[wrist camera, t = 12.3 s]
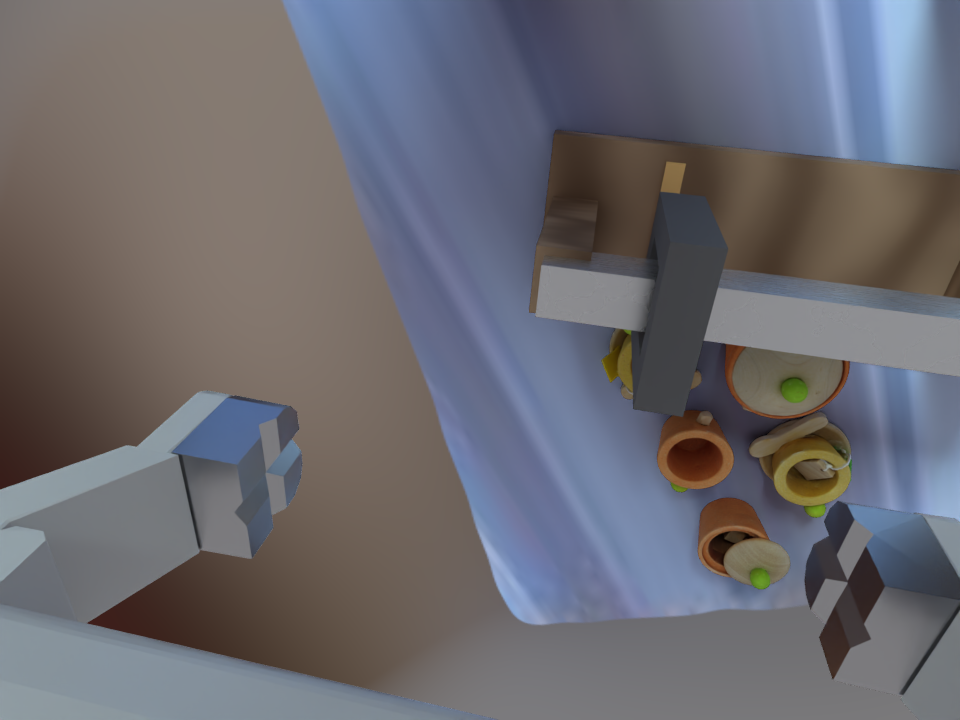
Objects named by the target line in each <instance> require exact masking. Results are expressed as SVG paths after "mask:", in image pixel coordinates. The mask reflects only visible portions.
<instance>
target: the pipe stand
mask: <svg viewBox="0 0 960 720" xmlns="http://www.w3.org/2000/svg"><path fill="white" fill-rule="evenodd" d="M660 192H669V193H678V194H687V195H696V196H705V197H706V199H707V202H708V204H709V206H710V208H711V211H712V213H713V215H714V217H715V220H716V222H717V224H718V226H719V229H720V231H721V233H722V235H723V238H724V240H725V242H726V244H727V247H728V253H727V256H726V260H725V264H724V267H723V271H722V275H721V278H720V282H719V286H718V289H717V293H716V297H715V300H714V304H713V308H712V312H711V315H710V319H709V323H708V326H707V330H706V334H705V337H704V341H711V342H718V343H725V344H732V345H739V346H746V347H753V348H760V349H767V350H774V351H781V352H788V353H795V354H803V355H810V356H817V357H824V358H831V359H838V360H845V361H852V362H859V363H866V364H873V365H880V366H887V367H894V368H902V369H909V370H916V371H923V372H930V373H937V374H944V375H951V376H958V377H960V170H950V169H940V168H930V167H921V166H911V165H901V164H891V163H881V162H871V161H861V160H851V159H841V158H831V157H821V156H811V155H801V154H791V153H781V152H771V151H761V150H751V149H741V148H731V147H721V146H711V145H701V144H691V143H681V142H671V141H661V140H651V139H641V138H631V137H622V136H612V135H602V134H592V133H582V132H572V131H562V130H556V131H555V133H554V138H553V147H552V155H551V164H550V172H549V181H548V190H547V198H546V207H545V216H544V224H543V228H542V231H541V234H540V237H539V239H538V242H537V245H536V253H535V262H534V271H533V280H532V289H531V298H530V306H529V312H530V313H536V316H535V317H541V318H548V319H555V320H562V321H569V322H576V323H583V324H590V325H598V326H605V327H612V328H619V329H626V330H633V331H640V332H645V330H646V326H647V321H648V316H649V312H650V307H651V303H652V298H653V293H654V289H655V284H656V280H657V275H658V270H659V265H658V260H652V259H646V257H647V252H648V247H649V242H650V237H651V233H652V228H653V223H654V218H655V213H656V208H657V203H658V198H659V194H660Z"/></svg>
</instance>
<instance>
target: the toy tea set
mask: <svg viewBox="0 0 960 720" xmlns="http://www.w3.org/2000/svg"><path fill="white" fill-rule="evenodd" d="M609 352H610V354H609V355H607V356H606V357H605V358H603V359H602V360H601V361H602V364H603V366H604V369H605V371H606V373H607V376H608V378H609V381H610V382H612V381H613V380H614V379H615V378H616V377H620V379H621V381H622V382H623V383H624V384H623V385H622V386H621V394H622V396H623V397H624V398H626V399H633V382H632V347H631V330H626V329H619V328H616V329H615V330H614V332H613V334H612V337H611V340H610V346H609ZM849 367H850V361H845V360H838V359H831V358H824V357H817V356H810V355H803V354H795V353H788V352H781V351H774V350H767V349H760V348H753V347H746V346H739V345H732V344H726V358H725V377H726V382H727V385H728V388H729V390H730V392H731V394H732V395H733V397H734V398H735V399H736V400H737V401H738V402H739V403H740V404H741V405H742V408H743V409H744V410H747V411H750V412H753V413H755V414H758V415H761V416H765V417H769V418H776V419H786V418H796V417H800V416H804V415H807V414H810V413H813V412H815V411H817V410H819V409H820V408H822V407H823V406H825V405H826V404H828V403H829V402H830V401H832V400H833V399H834V398H835V397H836V396H837V395H838V393H839V392H840V391H841V389H842V388H843V386H844V384H845V382H846V380H847V377H848V374H849ZM701 381H702V376H701V373H700V372H699V371H698V370H695V374H694V378H693V382H692V385H691V389H693V388H695V387H697V386H698V385H699V384H700V383H701ZM749 453H750V454H751V455H752V456H753V457H756V458H757V457H759V461H760V465H761V467H762V469H763V471H764V472H765V474H766V475H767V476H768V477H769V478H771V479H772V480H773V481H774V485H775V488H776V490H777V492H778V493H779V494H780V495H781V496H782V497H783V498H784V499H786V500H787V501H789V502H792V503H795V504H798V505H803V506H804V509H805V512H806V513H807V514H808V515H809V516H811V517H815V518H817V517H821V516H823V515H824V513H825V510H826V507H825V503H828V502H831V501H833V500H835V499H836V498H838V497H839V496H840V495H841V494H842V493H843V492H844V491H845V490H846V489H847V487H848V485H849V483H850V481H851V466H852V460H851V447H850V443H849V441H848V439H847V437H846V436H845V434H844V433H843V432H842V431H841V430H840V429H839V428H838V427H836V426H835V425H833V424H831V423H829V422H828V420H827V418H826V416H825V414H824V413H821V412H816V413H813V414H810V415H808V416H806V417H804V418H802V419H797V420H792V421H789V422H786V423H783V424H781V425H779V426H777V427H776V428H774V429H773V430H772V431H771V432H769V433H768V434H767V435H766V436H761V437H759V438H757V439H755V440H754V441H753V442H752V443H751V445H750V446H749ZM657 463H658V467H659V469H660V471H661V473H662V474H663V476H664V477H665V478H666V479H667V480H669V481H670V482H671V486H672V488H673V489H674V490H675V491H677V492H685V491H686V490H687V489H688V488H690V489H703V488H708V487H712V486H714V485H716V484H718V483H719V482H721V481H722V480H724V479H725V478H726V477H727V475H728V474H729V473H730V471H731V469H732V467H733V463H734V455H733V451H732V449H731V447H730V445H729V443H728V441H727V439H726V438H725V436H724V434H723V432H722V430H721V428H720V426H719V424H718V423H717V421H716V420H715V419H714V418H713V416H712V414H711V413H710V412H709V411H702V412H701V411H697V410H686V411H684V415H683V417H680V416H674V415H673V416H671V417H670V418H669V419H668V420H667V421H666V422H665V424H664V425H663V428H662V431H661V437H660V443H659V448H658V454H657ZM698 556H699V559H700V560H701V562H702V564H703V565H704V566H705V567H706V568H707V569H709V570H710V571H712V572H713V573H716V574H718V575H721V576H725V577H731V578H734V579H735V580H737V581H739V582H741V583H744V584H747V585H752V586H754V587H755V588H757V589H765V588H767V587H768V586H769V585H770V584H772V583H775V582H777V581H779V580H780V579H782V578H783V577H784V576H785V575H786V574H787V573H788V570H789V568H790V558H789V556H788V553H787V552H786V551H785V550H784V549H783V548H782V547H781V546H780V545H779V544H777V543H775V542H772V541H770V540H769V538H768V536H767V534H766V532H765V530H764V528H763V526H762V524H761V522H760V520H759V518H758V516H757V514H756V512H755V511H754V509H753V508H752V507H751V506H750V505H749V504H748V503H746V502H745V501H742V500H740V499H736V498H721V499H717V500H714V501H712V502H710V503H709V504H707V505H706V506H705V507H704V509H703V510H702V512H701V515H700V526H699V539H698Z"/></svg>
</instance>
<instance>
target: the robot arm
mask: <svg viewBox="0 0 960 720" xmlns="http://www.w3.org/2000/svg"><path fill="white" fill-rule="evenodd" d="M298 430H299V424H298V417H297V412H296V410H294V409H293V408H292V407H291V406H287V405H281V404H276V403H271V402H266V401H261V400H256V399H251V398H246V397H240V396H232V395H229V394H224V393H218V392H213V391H202V392H198V393H197V394H195V395H194V396H193V397H192V398H191V399H190V400H189V401H188V402H187V403H185V404H184V405H183V406H182V407H181V408H180V409H179V410H178V411H177V412H175V413H174V414H173V415H172V416H171V417H170V418H169V419H167V420H166V421H165V422H164V423H163V424H162V425H161V426H160V427H159V428H157V429H156V430H155V431H154V432H153V433H152V434H151V435H150V436H149V437H147V438H146V439H145V440H144V441H143V442H142V443H141V444H140V445H138V446H137V447H133V446H128V445H127V446H124V447H121V448H118V449H116V450H113V451H110V452H107V453H104V454H101V455H99V456H96V457H93V458H90V459H87V460H84V461H82V462H78V463H76V464H73V465H70V466H67V467H64V468H62V469H59V470H56V471H53V472H50V473H47V474H44V475H41V476H39V477H36V478H33V479H30V480H27V481H24V482H22V483H19V484H16V485H13V486H10V487H7V488H4V489H1V490H0V720H497V719H493V718H489V717H485V716H480V715H476V714H472V713H467V712H463V711H459V710H455V709H451V708H446V707H442V706H437V705H433V704H428V703H425V702H421V701H416V700H412V699H408V698H403V697H399V696H395V695H391V694H386V693H382V692H378V691H373V690H369V689H364V688H361V687H356V686H352V685H348V684H343V683H339V682H335V681H330V680H326V679H321V678H318V677H313V676H309V675H305V674H301V673H296V672H292V671H288V670H283V669H279V668H275V667H271V666H266V665H262V664H258V663H253V662H249V661H245V660H240V659H236V658H232V657H228V656H223V655H219V654H215V653H210V652H206V651H202V650H198V649H193V648H189V647H185V646H180V645H176V644H172V643H168V642H163V641H159V640H155V639H150V638H146V637H142V636H138V635H133V634H129V633H124V632H120V631H116V630H112V629H107V628H103V627H99V626H94V625H90V624H86V623H87V622H89V621H91V620H92V619H94V618H95V617H97V616H99V615H100V614H102V613H103V612H105V611H107V610H108V609H110V608H111V607H113V606H115V605H116V604H118V603H119V602H121V601H123V600H124V599H126V598H127V597H129V596H131V595H132V594H134V593H135V592H137V591H139V590H140V589H142V588H143V587H145V586H146V585H148V584H150V583H151V582H153V581H155V580H156V579H158V578H159V577H161V576H163V575H164V574H166V573H167V572H169V571H171V570H172V569H174V568H175V567H177V566H179V565H180V564H182V563H183V562H185V561H186V560H188V559H190V558H191V557H193V556H195V555H196V554H198V553H199V550H204V551H210V552H216V553H222V554H227V555H233V556H239V557H244V558H249V559H252V558H253V557H254V555H255V554H256V552H257V551H258V549H259V548H260V546H261V545H262V544H263V542H264V541H265V539H266V538H267V536H268V535H269V533H270V532H271V530H272V529H273V522H272V515H273V514H275V513H277V512H279V511H281V510H283V509H285V508H287V506H288V505H289V503H290V502H291V500H292V499H293V497H294V496H295V493H296V490H297V487H298V485H299V482H300V479H301V471H302V454H301V450H300V449H299V448H298V447H297V445H296V444H295V443H294V441H293V440H292V438H293V436H294V435H295V434H296V432H297V431H298ZM824 523H825V526H826V529H827V531H828V534H829V536H828V537H826V538H824V539H822V540H821V541H819V542H817V543H815V544H814V545H813V547H812V550H811V552H810V555H809V557H808V560H807V563H806V572H805V590H806V596H807V600H808V603H809V607H810V610H811V611H812V612H813V613H814V614H815V615H816V616H817V617H818V618H819V619H820V620H821V621H822V622H823V623H824V624H825V626H824V629H823V630H822V632H821V634H820V636H819V638H820V642H821V645H822V648H823V651H824V654H825V658H826V661H827V664H828V667H829V670H830V673H831V676H832V679H833V681H837V682H841V683H845V684H850V685H854V686H859V687H862V688H867V689H871V690H875V691H879V692H884V693H888V694H892V695H896V696H901V697H902V698H901V701H902V702H903V703H904V704H905V705H906V706H907V708H908V709H909V710H910V711H911V712H912V713H913V714H914V715H915V717H916V718H917V719H918V720H960V522H959V521H958V520H956V519H955V518H948V517H941V516H934V515H927V514H920V513H914V514H912V513H906V512H900V511H894V510H888V509H882V508H876V507H871V506H865V505H859V504H853V503H847V502H841V501H837V502H836V503H835V504H834V505H833V506H832V507H831V508H830V510H829V512H828V514H827V516H826V518H825V520H824Z"/></svg>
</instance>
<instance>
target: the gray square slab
mask: <svg viewBox="0 0 960 720" xmlns="http://www.w3.org/2000/svg"><path fill="white" fill-rule="evenodd" d="M727 253H728V247H727V244H726V242H725V240H724V238H723V235H722V233H721V231H720V229H719V226H718V224H717V222H716V220H715V217H714V215H713V213H712V211H711V208H710V206H709V204H708V202H707V199H706V197H705V196H696V195H687V194H678V193H669V192H660V194H659V198H658V203H657V208H656V213H655V218H654V223H653V228H652V233H651V237H650V242H649V247H648V252H647V257H646V259H652V260H658V265H659V270H658V275H657V280H656V284H655V289H654V293H653V298H652V303H651V307H650V312H649V316H648V321H647V326H646V330H645V332H640V331H633V330H631V347H632V382H633V409H636V410H642V411H648V412H655V413H661V414H667V415H674V416H680V417H683V415H684V411H685V407H686V404H687V400H688V396H689V393H690V389H691V385H692V382H693V378H694V374H695V370H696V367H697V363H698V359H699V356H700V352H701V348H702V345H703V341H704V337H705V334H706V330H707V326H708V323H709V319H710V315H711V312H712V308H713V304H714V300H715V297H716V293H717V289H718V286H719V282H720V278H721V275H722V271H723V267H724V264H725V260H726V256H727Z"/></svg>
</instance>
